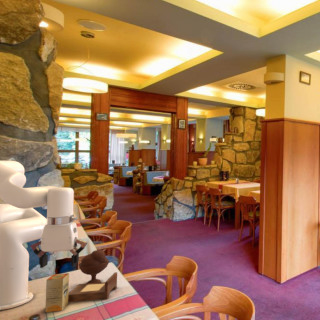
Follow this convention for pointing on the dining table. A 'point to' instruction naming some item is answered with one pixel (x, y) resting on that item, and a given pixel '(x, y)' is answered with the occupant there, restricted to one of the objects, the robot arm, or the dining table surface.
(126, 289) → the dining table surface
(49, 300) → the shoe polish box
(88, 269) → the ice cream bowl
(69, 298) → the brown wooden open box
